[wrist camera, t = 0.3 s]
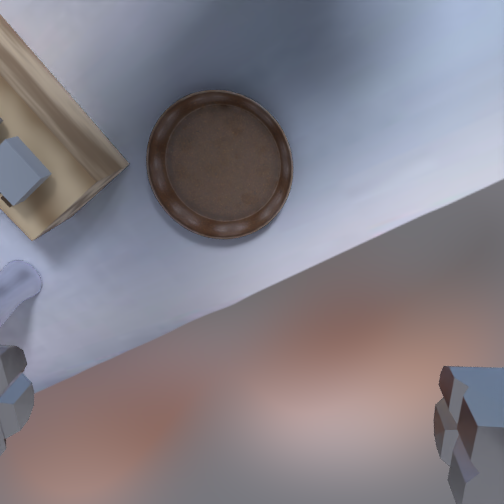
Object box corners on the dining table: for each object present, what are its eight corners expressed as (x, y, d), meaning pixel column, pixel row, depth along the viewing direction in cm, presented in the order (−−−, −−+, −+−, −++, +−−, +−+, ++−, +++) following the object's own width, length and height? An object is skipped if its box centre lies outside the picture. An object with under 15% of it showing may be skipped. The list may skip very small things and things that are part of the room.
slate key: (17, 136, 48) (5, 139, 46) (51, 173, 49) (41, 178, 47) (-9, 164, 50) (-22, 169, 48) (24, 200, 51) (13, 206, 49)
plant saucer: (202, 55, 52) (194, 55, 49) (325, 149, 54) (324, 154, 51) (130, 176, 59) (120, 182, 56) (241, 256, 61) (236, 265, 58)
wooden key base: (-25, -15, 53) (-93, -28, 44) (129, 164, 58) (94, 182, 50) (-77, 57, 57) (-148, 57, 49) (71, 216, 63) (30, 242, 54)
